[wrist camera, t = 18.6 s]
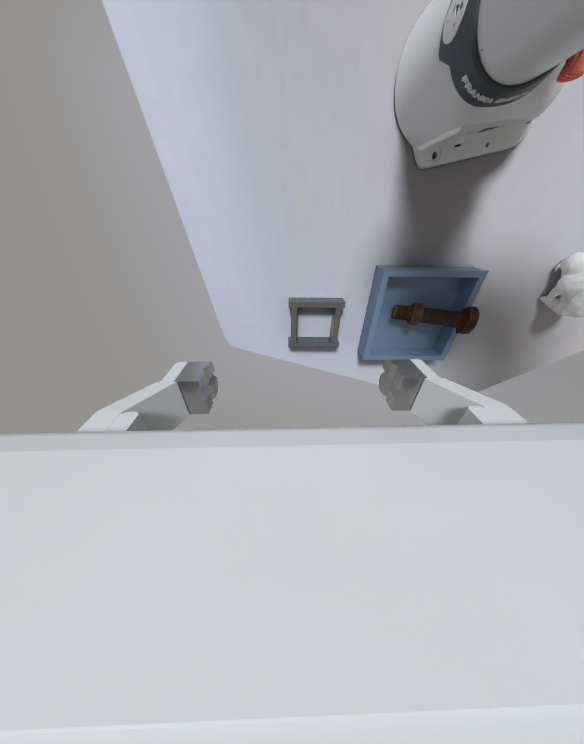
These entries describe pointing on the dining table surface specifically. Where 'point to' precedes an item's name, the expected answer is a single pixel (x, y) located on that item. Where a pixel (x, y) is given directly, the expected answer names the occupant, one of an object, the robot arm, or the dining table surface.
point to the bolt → (438, 316)
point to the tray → (406, 288)
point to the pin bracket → (316, 303)
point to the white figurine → (568, 288)
